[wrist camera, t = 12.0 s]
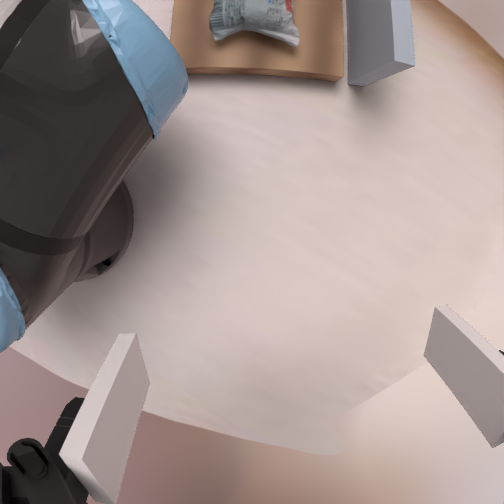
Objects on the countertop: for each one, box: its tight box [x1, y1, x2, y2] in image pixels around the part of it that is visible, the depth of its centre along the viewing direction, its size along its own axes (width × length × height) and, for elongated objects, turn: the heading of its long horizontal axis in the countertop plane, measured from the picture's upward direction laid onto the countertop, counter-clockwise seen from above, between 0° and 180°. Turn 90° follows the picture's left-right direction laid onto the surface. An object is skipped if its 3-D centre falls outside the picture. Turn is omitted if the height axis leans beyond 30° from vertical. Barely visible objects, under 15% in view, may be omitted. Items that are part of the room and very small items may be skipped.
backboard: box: [346, 0, 415, 86], centre depth 24 cm, size 2×16×12 cm, turn 178°
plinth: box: [170, 0, 344, 82], centre depth 28 cm, size 18×16×3 cm
